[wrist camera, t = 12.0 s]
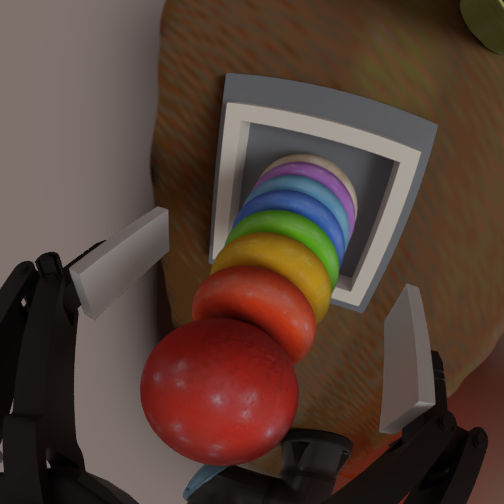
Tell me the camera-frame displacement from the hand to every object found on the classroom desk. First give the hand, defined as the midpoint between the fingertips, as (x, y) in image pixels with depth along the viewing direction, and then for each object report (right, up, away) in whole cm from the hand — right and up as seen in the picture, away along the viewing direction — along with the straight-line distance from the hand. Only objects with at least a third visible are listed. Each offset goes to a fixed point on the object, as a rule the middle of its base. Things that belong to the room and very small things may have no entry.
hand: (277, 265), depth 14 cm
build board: (+3, +5, +8) cm, 10 cm away
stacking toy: (+3, +5, +7) cm, 9 cm away
